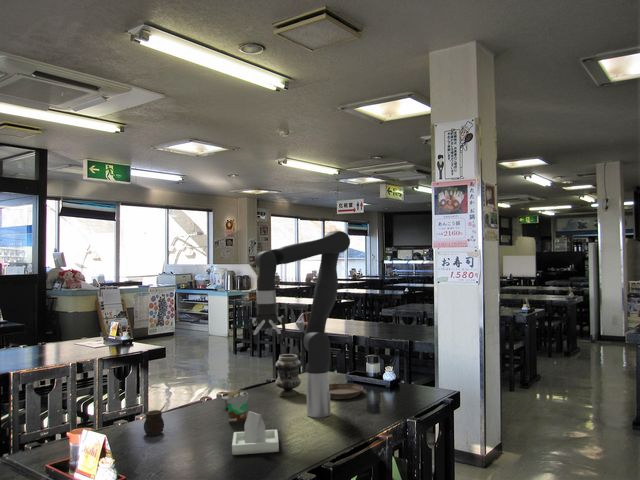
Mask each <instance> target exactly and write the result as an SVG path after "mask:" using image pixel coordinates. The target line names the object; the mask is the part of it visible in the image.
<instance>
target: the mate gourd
mask: <svg viewBox="0 0 640 480" xmlns="http://www.w3.org/2000/svg"><path fill="white" fill-rule="evenodd" d="M165 407H166V405H164V406H163V407H162V408H161V409H160V410H159V409H151V410H149V411H146V412H145V421H144V422H143V430H144V433H145V434H146V435H147V436H150V437H153V436H158V435H161V433H162V432H163V431H164V428H165V422H164V419H163V416H162V413H163V409H164V408H165Z"/></svg>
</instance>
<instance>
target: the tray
mask: <svg viewBox="0 0 640 480" xmlns="http://www.w3.org/2000/svg"><path fill="white" fill-rule="evenodd" d="M265 438H266V442H260V443H245V431H234V432H233V436H232V443H231V455H232V456H234V455H235V456H236V455H238V456H239V455H248V454H251V455H252V454H265V453H277V452H278V453H279V452H280V447H279V446H280V443H279V433H278V429H277V428H276V429H265Z"/></svg>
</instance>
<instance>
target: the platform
mask: <svg viewBox="0 0 640 480" xmlns="http://www.w3.org/2000/svg"><path fill="white" fill-rule="evenodd" d="M237 393H238V390H235V391H230V392H227V395H225V396H222V397H221V399H222V400H224V408H225V409H228V403H227V399H228V397H229V398H230V397H232V396H233V395H235V394H237Z"/></svg>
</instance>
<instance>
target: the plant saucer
mask: <svg viewBox="0 0 640 480" xmlns="http://www.w3.org/2000/svg"><path fill="white" fill-rule="evenodd" d="M363 390H364V387H363V386H362V385H359V384H356V383H355V384H354V383H341V382H340V383H329V391H330V399H332V400H333V399H334V400H347V399H352V398H355V397H358V396H360V394H361V393H362V392H363Z"/></svg>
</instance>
